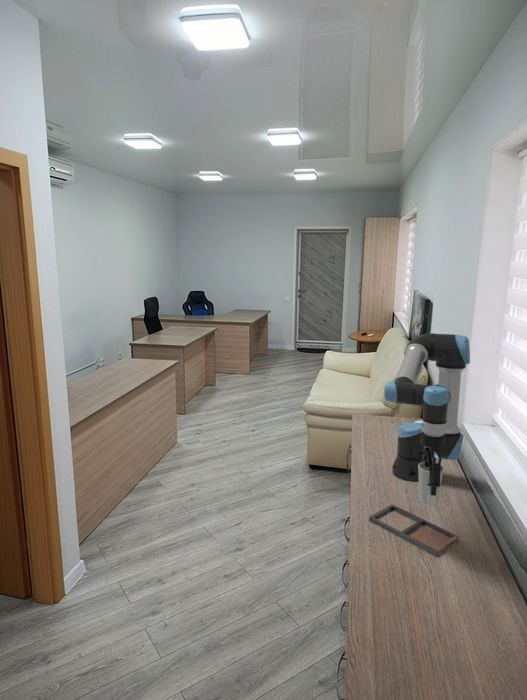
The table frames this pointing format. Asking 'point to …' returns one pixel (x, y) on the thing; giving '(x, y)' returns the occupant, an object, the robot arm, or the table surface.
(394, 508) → the two-slot metal tray
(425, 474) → the cup
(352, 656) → the table surface
